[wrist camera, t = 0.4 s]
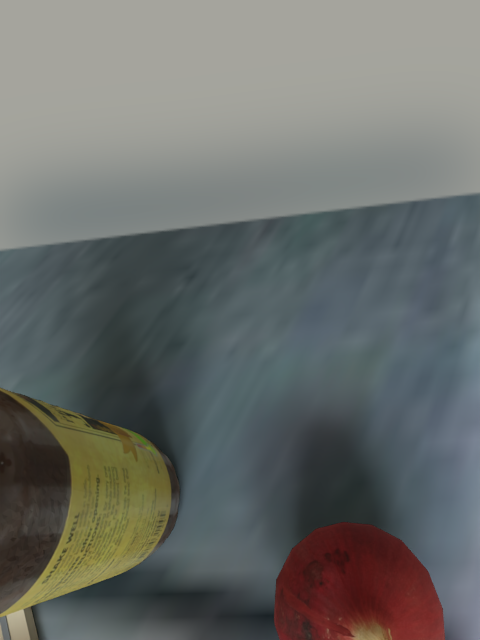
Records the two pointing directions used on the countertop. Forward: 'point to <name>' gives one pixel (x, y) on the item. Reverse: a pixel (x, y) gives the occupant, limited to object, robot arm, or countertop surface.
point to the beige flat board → (18, 626)
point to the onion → (355, 589)
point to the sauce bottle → (75, 501)
